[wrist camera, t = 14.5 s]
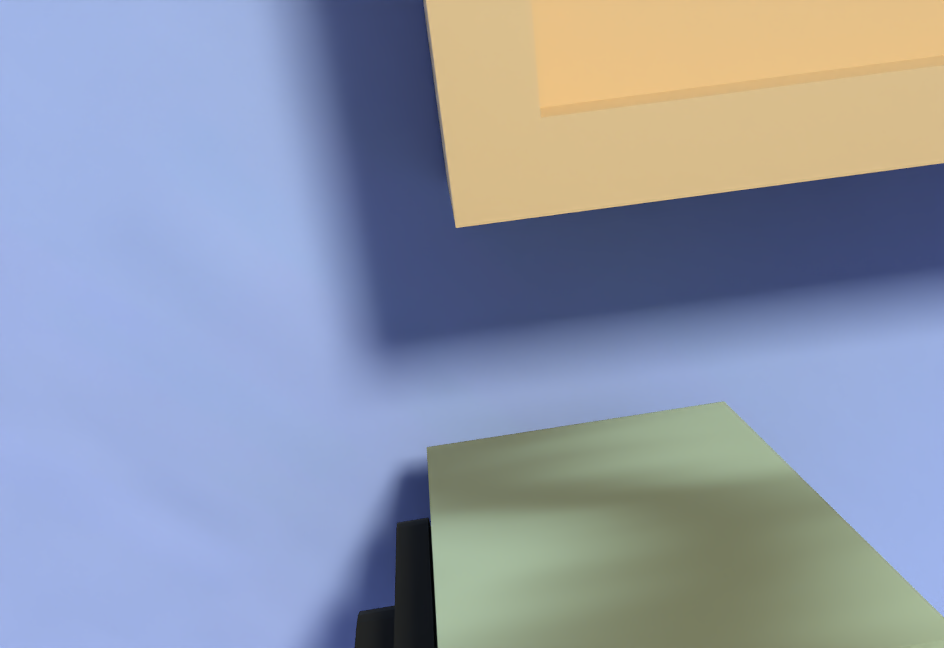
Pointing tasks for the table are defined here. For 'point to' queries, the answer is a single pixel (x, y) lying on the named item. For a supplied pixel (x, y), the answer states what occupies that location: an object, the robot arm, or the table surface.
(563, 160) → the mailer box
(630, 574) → the green block
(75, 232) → the table surface
